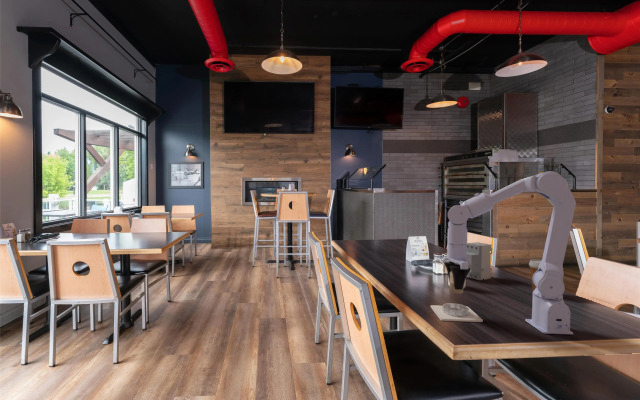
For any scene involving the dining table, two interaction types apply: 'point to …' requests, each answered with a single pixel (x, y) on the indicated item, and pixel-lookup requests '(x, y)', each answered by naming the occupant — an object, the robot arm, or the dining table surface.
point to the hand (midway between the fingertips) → (456, 287)
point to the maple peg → (452, 288)
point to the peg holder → (455, 313)
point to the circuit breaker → (479, 260)
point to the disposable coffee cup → (534, 269)
